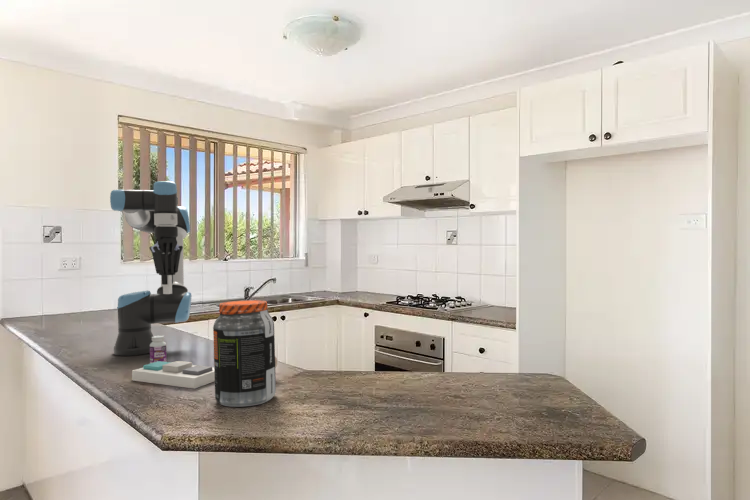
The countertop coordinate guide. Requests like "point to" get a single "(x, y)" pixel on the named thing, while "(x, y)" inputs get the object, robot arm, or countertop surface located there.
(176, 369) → the grey key
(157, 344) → the pill bottle
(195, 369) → the charcoal key
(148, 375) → the keypad
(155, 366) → the teal key
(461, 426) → the countertop surface
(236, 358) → the supplement tub
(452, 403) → the countertop surface
